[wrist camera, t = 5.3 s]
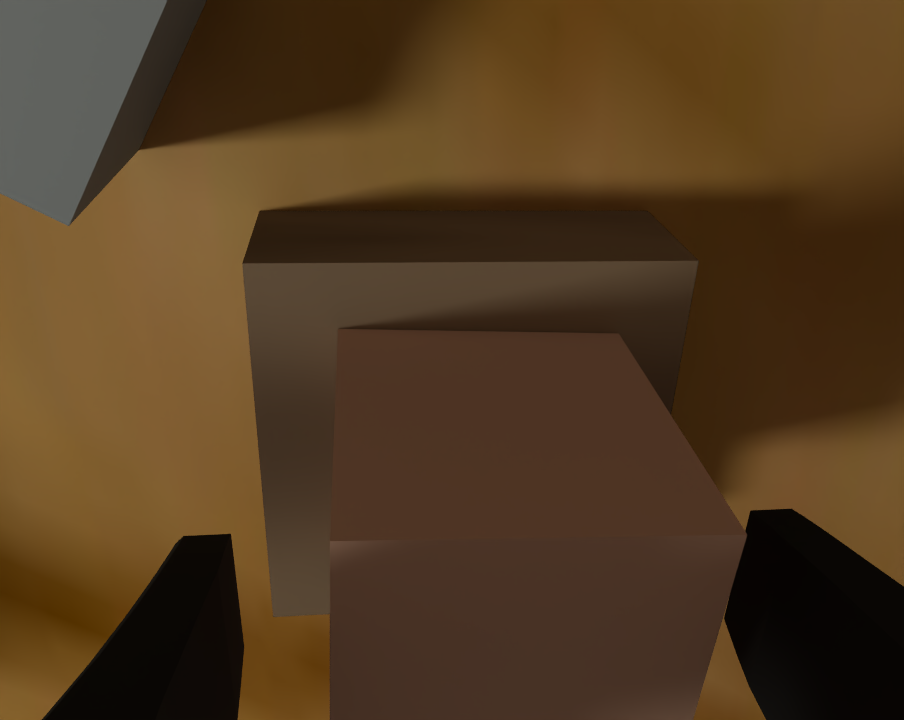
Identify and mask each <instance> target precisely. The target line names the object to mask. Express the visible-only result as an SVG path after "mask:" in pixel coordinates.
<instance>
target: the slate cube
mask: <svg viewBox="0 0 904 720" xmlns="http://www.w3.org/2000/svg"><path fill="white" fill-rule="evenodd" d="M206 1H207V0H0V193H1V194H3V195H5V196H7V197H9V198H11V199H13V200H15V201H17V202H20V203H22V204H24V205H26V206H28V207H30V208H32V209H34V210H36V211H38V212H41V213H43V214H45V215H47V216H49V217H51V218H53V219H55V220H57V221H59V222H61V223H64V224H66V225H68V226H69V225H70V224H71V223H72V222H73V221H74V220H75V219H76V218H77V217H78V215H79V214H80V213H81V212H82V211H83V210H84V209H85V208H86V207H87V206H88V205H89V204H90V202H91V201H92V200H93V199H94V198H95V197H96V196H97V195H98V194H99V193H100V192H101V191H102V189H103V188H104V187H105V186H106V185H107V184H108V183H109V182H110V181H111V180H112V179H113V177H114V176H115V175H116V174H117V173H118V172H119V171H120V170H121V169H122V168H123V167H124V166H125V164H126V163H127V162H128V161H129V160H130V159H131V158H132V157H133V156H134V155H135V154H136V152H137V151H138V150H139V148H140V146H141V144H142V142H143V140H144V137H145V135H146V133H147V131H148V129H149V126H150V124H151V122H152V120H153V118H154V115H155V113H156V111H157V109H158V106H159V104H160V102H161V100H162V98H163V95H164V93H165V91H166V89H167V87H168V84H169V82H170V80H171V78H172V76H173V73H174V71H175V69H176V67H177V65H178V62H179V60H180V58H181V56H182V54H183V51H184V49H185V47H186V45H187V43H188V40H189V38H190V36H191V34H192V32H193V29H194V27H195V25H196V23H197V21H198V18H199V16H200V14H201V12H202V10H203V7H204V5H205V3H206Z"/></svg>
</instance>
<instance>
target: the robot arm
mask: <svg viewBox="0 0 904 720" xmlns="http://www.w3.org/2000/svg"><path fill="white" fill-rule="evenodd" d="M745 532H746V534H747V537H746V541H745V544H744V548H743V551H742V554H741V558H740V561H739V564H738V568H737V571H736V575H735V578H734V581H733V585H732V588H731V592H730V596H729V600H728V604H727V609H726V613H725V617H724V619H725V622H726V625H727V628H728V631H729V634H730V637H731V639H732V642H733V645H734V648H735V651H736V654H737V656H738V659H739V661H740V664H741V667H742V669H743V672H744V674H745V677H746V679H747V682H748V685H749V687H750V689H751V691H752V693H753V695H754V697H755V699H756V701H757V703H758V705H759V707H760V709H761V710H762V712H763V714H764V716H765V718H766V720H904V586H902V585H901V584H899V583H898V582H896V581H895V580H894V579H892V578H891V577H889V576H888V575H886V574H885V573H884V572H882V571H881V570H879V569H878V568H877V567H875V566H874V565H872V564H871V563H870V562H868V561H867V560H865V559H864V558H863V557H861V556H860V555H858V554H857V553H856V552H854V551H853V550H851V549H850V548H849V547H847V546H846V545H844V544H843V543H842V542H840V541H839V540H837V539H836V538H834V537H833V536H832V535H830V534H829V533H827V532H826V531H824V530H823V529H822V528H820V527H819V526H817V525H816V524H814V523H813V522H811V521H810V520H808V519H807V518H805V517H804V516H802V515H801V514H799V513H797V512H796V511H794V510H793V509H776V510H753V511H750V515H749V519H748V523H747V527H746V531H745ZM243 654H244V642H243V633H242V625H241V616H240V608H239V599H238V591H237V582H236V574H235V565H234V557H233V548H232V540H231V534H219V535H197V536H183V537H182V538H181V539H180V540H179V541H178V542H177V543H176V544H175V545H174V547H173V549H172V550H171V552H170V553H169V555H168V556H167V558H166V559H165V561H164V562H163V564H162V565H161V567H160V568H159V570H158V571H157V573H156V574H155V576H154V577H153V579H152V580H151V582H150V583H149V584H148V586H147V587H146V589H145V590H144V592H143V593H142V594H141V596H140V597H139V598H138V600H137V601H136V603H135V604H134V605H133V607H132V608H131V610H130V611H129V612H128V614H127V615H126V616H125V618H124V619H123V620H122V622H121V623H120V624H119V626H118V627H117V628H116V630H115V631H114V632H113V633H112V635H111V636H110V637H109V639H108V640H107V641H106V643H105V644H104V645H103V647H102V648H101V649H100V650H99V652H98V653H97V654H96V656H95V657H94V658H93V659H92V661H91V662H90V663H89V665H88V666H87V667H86V668H85V669H84V671H83V672H82V673H81V674H80V675H79V677H78V678H77V679H76V680H75V681H74V682H73V684H72V685H71V686H70V687H69V688H68V690H67V691H66V692H65V693H64V694H63V695H62V697H61V698H60V699H59V700H58V701H57V702H56V704H55V705H54V706H53V707H52V708H51V710H50V711H49V712H48V713H47V714H46V715H45V717H44V718H43V719H42V720H237V719H238V708H239V698H240V688H241V677H242V665H243Z"/></svg>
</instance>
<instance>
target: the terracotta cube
mask: <svg viewBox="0 0 904 720" xmlns="http://www.w3.org/2000/svg"><path fill="white" fill-rule="evenodd" d="M746 537H747V534H746V532H745V530H744V529H743V527H742V526H741V524H740V523H739V521H738V519H737V518H736V516H735V515H734V513H733V512H732V510H731V509H730V507H729V505H728V504H727V502H726V501H725V499H724V498H723V496H722V494H721V493H720V491H719V490H718V488H717V487H716V485H715V483H714V482H713V480H712V479H711V477H710V476H709V474H708V472H707V471H706V469H705V468H704V466H703V465H702V463H701V462H700V460H699V458H698V457H697V455H696V454H695V452H694V451H693V449H692V447H691V446H690V444H689V443H688V441H687V440H686V438H685V436H684V435H683V433H682V432H681V430H680V429H679V427H678V425H677V424H676V422H675V421H674V419H673V418H672V416H671V415H670V413H669V411H668V410H667V408H666V407H665V405H664V404H663V402H662V400H661V399H660V397H659V396H658V394H657V393H656V391H655V389H654V388H653V386H652V385H651V383H650V382H649V380H648V378H647V377H646V375H645V374H644V372H643V371H642V369H641V368H640V366H639V364H638V363H637V361H636V360H635V358H634V357H633V355H632V353H631V352H630V350H629V349H628V347H627V346H626V344H625V342H624V341H623V339H622V338H621V336H620V335H619V333H565V332H502V331H440V330H377V329H338V338H337V365H336V392H335V419H334V446H333V473H332V500H331V526H330V720H693V717H694V714H695V710H696V707H697V704H698V700H699V697H700V693H701V690H702V687H703V683H704V680H705V677H706V673H707V670H708V666H709V663H710V660H711V656H712V653H713V649H714V646H715V643H716V639H717V636H718V632H719V629H720V626H721V622H722V619H723V615H724V612H725V609H726V605H727V602H728V598H729V595H730V592H731V588H732V585H733V581H734V578H735V575H736V571H737V568H738V564H739V561H740V558H741V554H742V551H743V548H744V544H745V541H746Z"/></svg>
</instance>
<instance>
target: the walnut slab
mask: <svg viewBox="0 0 904 720" xmlns="http://www.w3.org/2000/svg"><path fill="white" fill-rule="evenodd" d="M698 262H699V261H698V260H697V259H696V258H695V257H694V256H693V255H692V254H691V253H690V252H689V251H688V250H687V249H686V248H685V247H684V246H683V245H682V244H681V243H680V242H679V241H678V240H677V239H676V238H675V237H674V236H673V235H672V234H671V233H670V232H669V231H668V230H667V229H666V228H665V227H663V226H662V225H661V224H660V223H659V222H658V221H657V220H656V219H655V218H654V217H653V216H652V215H651V214H650V213H649V212H648V211H259V214H258V217H257V220H256V223H255V226H254V230H253V233H252V236H251V239H250V242H249V245H248V248H247V251H246V254H245V257H244V260H243V263H242V264H243V275H244V287H245V298H246V310H247V321H248V333H249V344H250V355H251V367H252V378H253V390H254V401H255V413H256V424H257V436H258V447H259V458H260V470H261V481H262V493H263V504H264V516H265V527H266V539H267V550H268V561H269V573H270V584H271V596H272V607H273V617H280V616H299V615H319V614H330V526H331V500H332V473H333V446H334V419H335V392H336V365H337V338H338V329H377V330H440V331H502V332H565V333H619V335H620V336H621V338H622V339H623V341H624V342H625V344H626V346H627V347H628V349H629V350H630V352H631V353H632V355H633V357H634V358H635V360H636V361H637V363H638V364H639V366H640V368H641V369H642V371H643V372H644V374H645V375H646V377H647V378H648V380H649V382H650V383H651V385H652V386H653V388H654V389H655V391H656V393H657V394H658V396H659V397H660V399H661V400H662V402H663V404H664V405H665V407H666V408H667V410H668V411H669V413H670V415H671V411H672V406H673V400H674V395H675V389H676V384H677V378H678V373H679V367H680V362H681V356H682V350H683V345H684V339H685V334H686V328H687V323H688V317H689V312H690V306H691V301H692V295H693V290H694V284H695V279H696V273H697V268H698Z"/></svg>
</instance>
